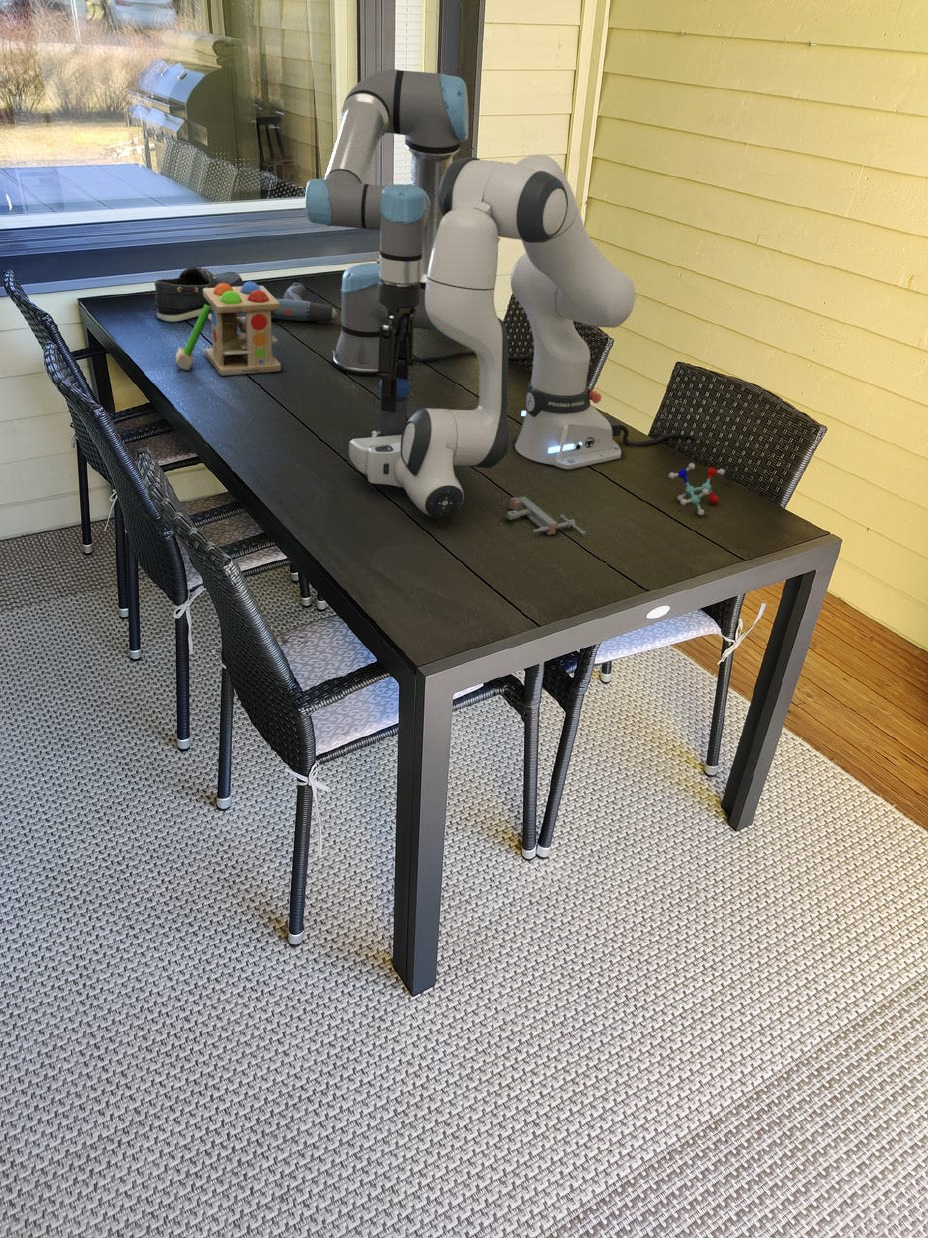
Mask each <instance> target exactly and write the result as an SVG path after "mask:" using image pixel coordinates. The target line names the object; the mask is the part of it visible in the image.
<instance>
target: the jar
mask: <svg viewBox="0 0 928 1238" xmlns="http://www.w3.org/2000/svg"><path fill="white" fill-rule="evenodd" d="M408 400H409V397H408V396H406V397H401V398H396V412H395V413H393V412H388V411H383V410H381V405H379V406H380V407H379V409H380V411H379V431H380V432H381V433H382V436H394V435H402V433H403V429H404V427H405V425H406V423H407V422H408V420H407V419H408Z"/></svg>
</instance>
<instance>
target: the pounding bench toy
mask: <svg viewBox="0 0 928 1238" xmlns="http://www.w3.org/2000/svg"><path fill="white" fill-rule="evenodd" d="M203 296H204V297H205V299H206V300H207V301H208V302H209V304H210V305H211V307H210V306H208V305H204V307H203V309H202V311H201V314H200V316H198V318H197V320H196V322H195V324H194V327H193V329H192V331H191V332H190V333H191V334H190V336H189V338H188V340H187V343H186V344H185V347H184V348H182V347H180V346H179V347H178V349H177V351H176V354H175V357H174V358H175V362H176V365H177V366H178V368H179V369H182V370H185V371H189V370H190V369H191V367H192V365H193V363H194V356H193V351H194V348H195V347H196V345H197V342H198V340H199V337H200V336H201V333H202V332H203V329H204V326H205V325H206V322H207V320H209V321H210V322H211V336H212V337H211V338H212V339H211V340H212V348H205V349H204V352H205V353H204V355H205V357H206V359H208V361H209V363H210V364H211V365H212V366H213V367H214V369H215V370H216V371H217V372H218V374H219V375H220V376H222V377H223V376H234V375H235V376H236V375H246V374H247V375H250V374H262V373H275V372H281V370H282V364H281V363H280V362H279V360H278V359H277V358H276V357H275V356H274V355H273V348H272V347H273V345H272V344H276V343H278V342H279V341H278V339H277V338H276V337H275V336H274V334H272V318H271V310H280V303H279V302H278V301H277V300H276V299H277V298H276V297H274V296H273V295H272V294H271V293H270V292H269V290H268V289H267V288H266V287H264V285H259V284H257V283H256V282H255V281H247V282H245V283H243V286H242V287H231V286H230V285H228V284H226V283H221V284H218V285H217V286H216V287H215V288H204V289H203ZM238 313H244V314H245V315H244V316H238ZM238 329H239V331H240V333H239V334H238Z"/></svg>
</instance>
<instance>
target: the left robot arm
mask: <svg viewBox="0 0 928 1238" xmlns="http://www.w3.org/2000/svg"><path fill="white" fill-rule="evenodd" d="M468 97H469V96H468V88H467V85H466V82H465V80H464V79H462V78H461V77H460V76H457V75H456V76H455V75H450V74H449V75H448V74H445V73H438V72H426V71H412V70H401V69H394V68H389V69H382V70H379V71H377V72H373V73H372V74H370V75H368V76H366V77H364V78H362V79H361V80H360V81H359V82H358V83H357V84H355V85H354V86H353V87H352V88H351V90H350V91H349V92H348V94H347V95H346V96H345V99H344V101H343V104H342V107H341V112H340V120H341V127H340V130H339V133H338V136H337V140H336V142H335V145H334V148H333V151H332V154H331V158H330V160H329V163H328V166H327V169H326V172H325V176H324V178H323V177H321V178H312V179H309V181H308V182H307V184H306V188H305V195H304V196H305V199H304V201H305V203H304V205H305V215H306V218H307V220H308V222H310V223H313V224H317V225H324V226H327V227H341V228H352V229H364V230H371V231H378V232H379V253H378V255H379V256H378V257H377V258H376V262H370V263H369V262H368V263H361V264H356V265H352V266H351V267H348V268H346V270H345V271H344V272H343V274H342V277H341V278H342V281H341V288H340V292H341V319H340V321H341V324H340V325H341V326H340V329H341V330H340V336H339V338H338V341H337V344H336V348H335V350H334V349H332V355H333V361H332V362H333V363H332V364H333V366H334V367H335V368H337V369H338V370H339V371H342V372H344V373H347V374H352V375H356V376H376V378H379V379H381V380H382V392H381V393H380V394H381V395H380V406H381V410H383V411H388V412H393V413H395V412H396V395H397V378H401V379H404V380H407V381H408V380H409V378H408V377H409V367H413V366H414V363H428V362H436V361H441V360H447V359H451V358H453V357H458V356H477V355H476V354H475V352H474V351H473V350H459V351H454V352H450V353H447V354H443V355H437V356H429V357H414V336H415V335H414V332H415V331H414V330H415V329H422V330H427V331H431V330H433V331H439V330H438V329H437V328H436V327H435V326H434V325H433V324H432V322H431V321H430V319H429V317H428V315H427V312H426V309H425V288H426V281H427V273H428V267H429V261H430V256H431V252H432V248H433V244H434V240H435V237H436V233H437V230H438V227H439V224H440V222H441V219H442V218H443V216H442V213H441V209H440V204H439V186H440V182H441V179H442V176H443V174H444V172H445V171H446V169H447V168H448V167H449V166H450V165H451V163H452V162H453V157H454V156H455V155H456V154H457V153H458V152H459V151H460V150H461V143H463V142H466V141H467V140H468V138H469V117H470V116H469V115H470V114H469V98H468ZM385 134H394V135H400V136H401V135H402V136H404V145H405V147H406V149H407V150H408V151H409V152H410V153H411V171H410V183H409V184H407V183H406V184H403V183H402V184H400V183H398V184H397V183H395V184H390V185H380V184H370V183H368V180H369V176H370V172H371V169H372V165H373V162H374V159H375V156H376V151H377V147H378V145H379V141H380V139H382V138H383V137H384V135H385ZM532 356H533V355H532V351H530V352H528V353H525V354H523V355H509V354H508V360H511V361H521V360H526V359H528V358H530V357H532ZM408 382H409V381H408Z"/></svg>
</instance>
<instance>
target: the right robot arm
mask: <svg viewBox="0 0 928 1238" xmlns="http://www.w3.org/2000/svg"><path fill="white" fill-rule="evenodd" d="M439 204H440V209H441V213H442V216H443V218H442V219H441V222H440V224H439V227H438V230H437V233H436V237H435V240H434V244H433V248H432V252H431V256H430V261H429V267H428V273H427V281H426V288H425V309H426V312H427V315H428V317H429V319H430V321H431V322H432V324H433V325H434V326H435V327H436V328H437V329H438V330H437V331H439V332H440V333H442V334H443V335H445V336H446V337H448V338H449V339H451V340H453V341H455V342H457V343H459V344H460V345H463V346H465V347H467V348H468V349H470V350H471V351H474V352H475V354H476V355H475V356H476V358H477V360H478V364H479V365H478V367H479V368H478V369H479V370H478V372H479V373H478V375H479V377H478V379H479V380H478V386H479V387H478V388H479V389H478V391H479V393H478V398H479V399H478V405H477V407H476V408H474V409H472V410H471V409H449V408H427V407H426V408H423V407H421V408H420V409H418V410H416V411H415V412H414V413H413V414H412V415H411V416H410V418H409V419H408V420H407V422H406V425H405V427H404V429H403V433H402V435H394V436H382V433H381V432H380V430H372V431H371V436H370V437H360V438H358V437H357V438H352V439H350V440H349V444H348V456H349V457H348V458H349V459H350V461H351V463H352V464H353V465H354V466H355V467H356V469H357V470H358V471H359V472H361V474H364V475H366V476H367V481H368V482H369V483H370V484H374V485H375V484H376V485H386V486H387V485H389V486H394V487H397V488H401V489H403V490H405V492H406V494H407V496H408V497H409V499H410V501H411V502H412V503H413V504H414V505H415V506H416V508H417V509H419V510H420V511H421V513H423V514H425V515H427V516H429V517H432V518H445V517H448V516H450V515H451V516H452V514H454V513H456V512H457V511H459V509H460V508H461V506H462V505H463V502H464V499H465V494H464V490H463V487H462V485H461V483H460V481H459V480H458V478H457V476H456V475H455V468H454V466H455V467H456V466H457V467H459V466H463V467H471V468H481V469H492V468H494V467H495V466H497V464H498V463H500V462H501V461H502V460H503V459H504V458H505V456H506V455H507V453H508V452H509V448H510V441H511V440H510V438H511V437H510V436H511V435H510V427H509V419H508V417H509V415H508V392H509V391H508V384H509V359H508V355H509V349H508V348H509V343H508V332H507V328H506V324H505V322H504V321H503V320H502V319H501V318H500V317H498V315H497V311H496V307H495V288H496V281H497V272H498V260H499V242H500V241H501V238H504V239H505V238H506V239H510V240H521V243H522V245H523V248H524V251H525V252H524V253H523V254H521V256H520V257H519V258H518V259H517V260H516V262H515V263H514V265H513V267H512V270H511V274H510V288H511V292H512V295H513V297H514V298H515V299H516V301H518V303H519V305H520V306H521V307H522V309H523V311H524V313H525V315H526V317H527V320H528V322H529V326H530V331H531V333H532V339H533V351H534V355H533V360H532V370H531V372H532V373H531V379H530V380H529V382H528V386H527V392H526V398H525V399H526V400H525V410H521V415H520V416H521V417H524V418H523V422H522V426H521V429H520V432H519V433H518V434H519V435H518V438H517V440H516V442H515V444H514V448H515V450H516V452H517V453H518V454H519V455H521V456H522V457H524V458H526V459H528V460H531V461H533V462H536V463H540V464H545V465H551V466H554V467H557V468H560V469H563V470H573V469H577V468H582V467H587V466H591V465H597V464H599V463H600V464H601V463H605V462H609V461H613V460H619V459H621V458H622V449H621V447H620V446H619V444H618V443H617V442H616V441H615V440H614V438H613V437H620V436H621V433H622V432H623V436H622V442H623V443H624V444H625V445H626V446H629V447H644V446H645V447H646V446H649V445H655V444H658V443H661V442H662V441H664V440H666V439H672V438H673V439H674V438H679V437H683V436H682V435H680V434H679V433H678V432H679V431H678V432H672V433H671V432H670V433H665V434H662V435H660V436H659V437H656V438H654V439H647V440H643V441H637V442H634V441H630V440H628V438H629V434H630V433H629V429H628V427H626V426H625V425H623V424H621V422H619V420H617V419H616V418H615V417H614V416H612V415H605V416H604V415H603V414H602V413H601V412H600V411H599V410H598V409H597V408H596V407H594V406H593V405H592V403H594V404H599V403H600V402H601V401H602V395H601V394H600V393H599V392H597V390H592V389H591V387H589V386H587V381H588V380H587V379H588V373H589V368H590V367H589V366H590V361H591V352H590V348H589V346H588V344H587V342H586V341H585V340H584V338H583V337H581V336H580V334H579V332H578V331H577V329H576V327H575V324H574V322H576V323H580V324H583V325H585V326H586V325H587V326H590V327H595V328H611V329H615V328H618V327H619V326H621V325H622V324H624V322H626V321H627V319H628V318H629V317H630V316H631V314H632V313H633V310H634V308H635V304H636V295H637V294H636V288H635V285H634V282H633V280H632V278H631V277H629V276H628V275H626V274H625V273H624V272H622V271H621V270H620V269H618V268H617V267H616V266H615V265H614V264H613V263H612V262H611V261H609V259H608V258H607V257H606V256H605V255H604V254H603V252H602V251H601V250H600V249H599V247H598V246H597V245H596V244H595V243H594V241H593V240H592V238H591V237H590V235H589V234H588V232H587V229H586V227H585V224H584V220H583V219H582V216H581V212H580V209H579V206H578V202H577V200H576V197H575V194H574V191H573V189H572V187H571V185H570V183H569V180H568V178H567V177H566V175H565V173H564V170H562V168H561V167H560V164H559V163H558V162H557V161H556V160H555V159H554V158H552V157H550V156H548V155H546V154H532V155H528V156H526V157H524V158H522V159H521V160H519V161H518V162H517V163H513V162H510V161H509V162H504V161H497V160H486V159H485V160H484V159H480V158H478V157H462V158H457V159H455V160H452V163H451V165H450V166H449V167H448V168H447V169H446V171H445V172H444V174H443V176H442V179H441V182H440V186H439ZM500 237H501V238H500ZM591 401H592V403H591ZM687 438H690V439H691V440H692V441H695V442H698V441H699V439H698V440H697V439H694V438H692V437H690V436H687Z"/></svg>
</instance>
